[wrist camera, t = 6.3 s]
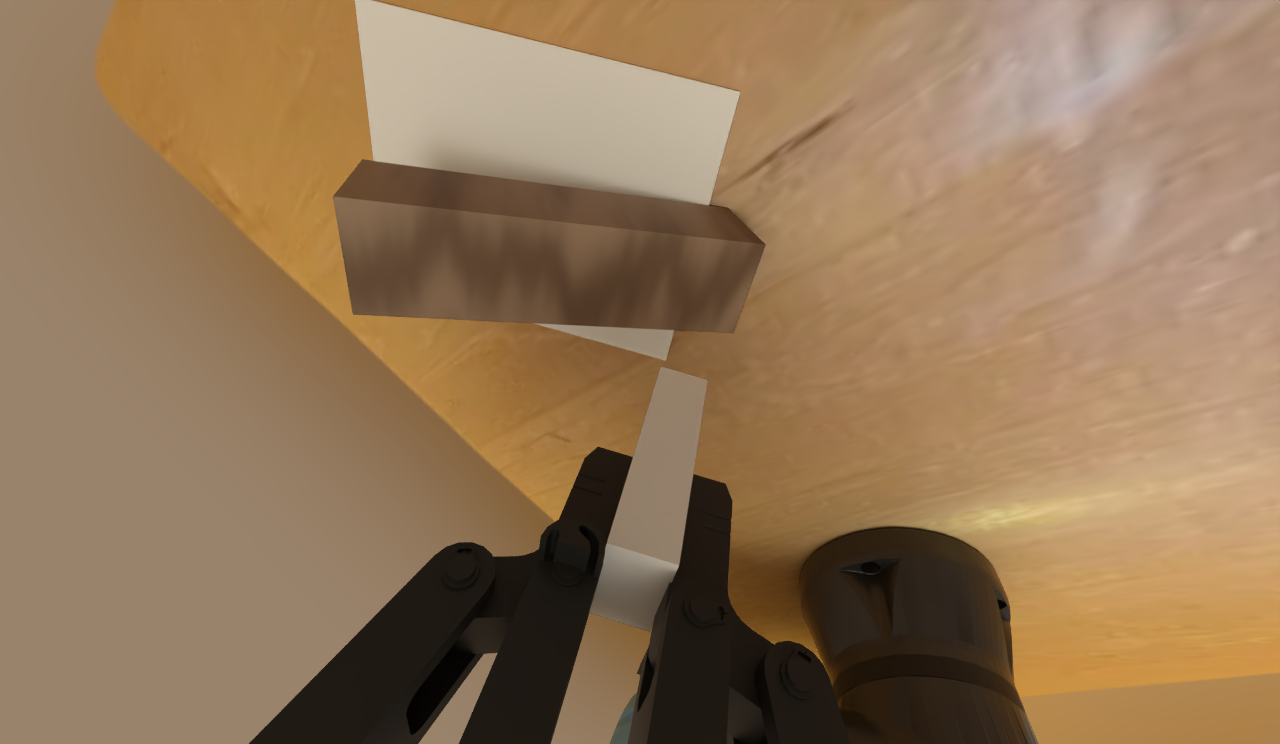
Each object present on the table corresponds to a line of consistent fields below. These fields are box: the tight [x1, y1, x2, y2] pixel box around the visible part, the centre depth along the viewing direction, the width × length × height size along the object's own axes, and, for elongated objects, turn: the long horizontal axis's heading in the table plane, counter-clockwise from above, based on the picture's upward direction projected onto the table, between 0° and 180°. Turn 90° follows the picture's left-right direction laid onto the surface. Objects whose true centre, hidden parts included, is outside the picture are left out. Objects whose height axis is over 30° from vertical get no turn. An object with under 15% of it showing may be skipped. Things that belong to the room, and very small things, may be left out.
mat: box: [355, 0, 741, 361], centre depth 29 cm, size 16×20×1 cm
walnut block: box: [333, 160, 766, 333], centre depth 24 cm, size 5×5×18 cm
